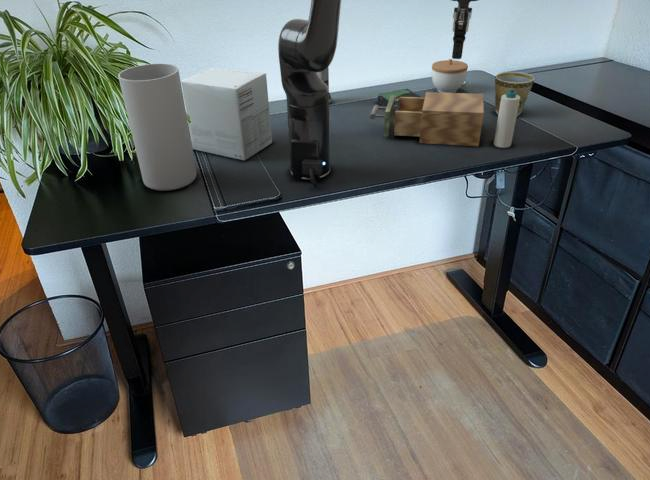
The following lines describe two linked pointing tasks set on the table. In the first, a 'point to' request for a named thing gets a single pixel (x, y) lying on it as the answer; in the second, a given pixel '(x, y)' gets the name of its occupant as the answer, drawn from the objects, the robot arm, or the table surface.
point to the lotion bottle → (506, 119)
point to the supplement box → (228, 112)
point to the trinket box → (448, 75)
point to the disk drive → (385, 97)
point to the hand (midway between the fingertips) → (456, 58)
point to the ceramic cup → (512, 87)
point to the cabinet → (452, 118)
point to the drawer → (402, 116)
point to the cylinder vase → (159, 125)
